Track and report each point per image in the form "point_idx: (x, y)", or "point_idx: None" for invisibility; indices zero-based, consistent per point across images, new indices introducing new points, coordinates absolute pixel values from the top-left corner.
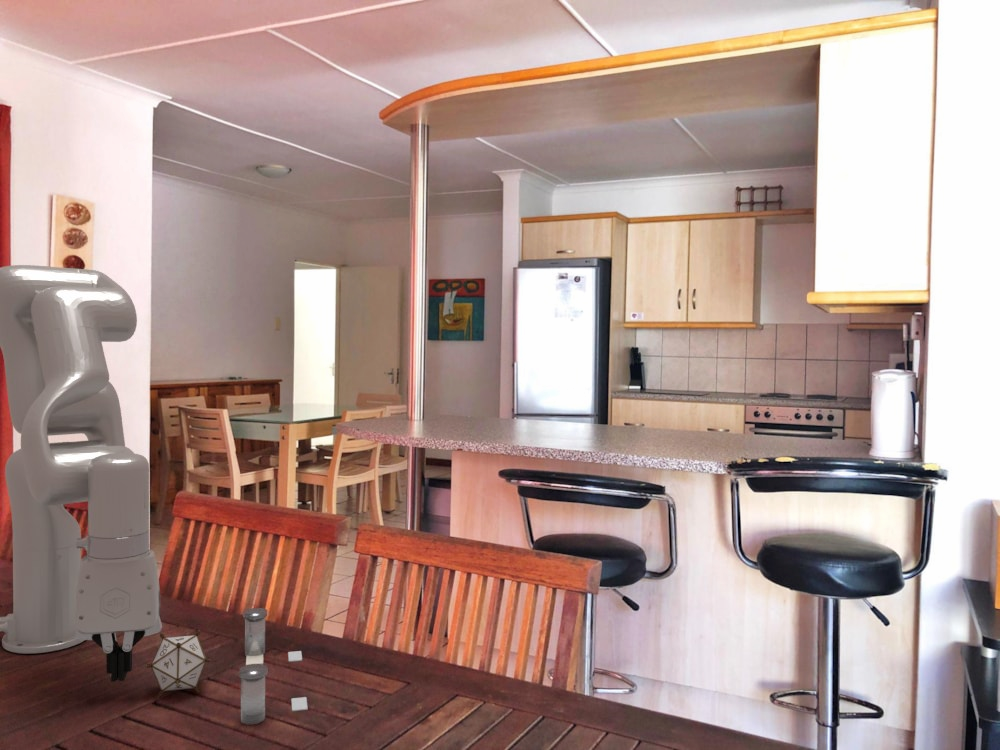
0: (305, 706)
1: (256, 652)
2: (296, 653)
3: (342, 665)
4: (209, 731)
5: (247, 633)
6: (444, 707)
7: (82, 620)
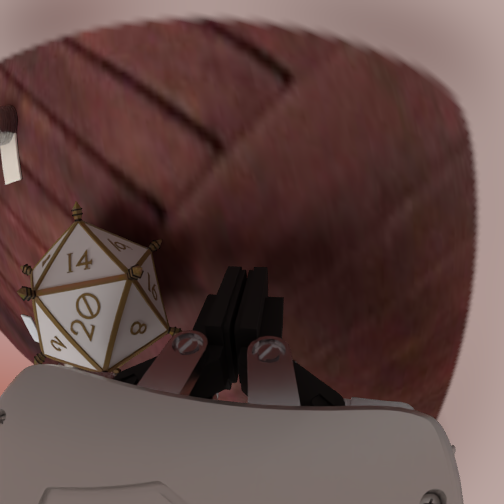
0: None
1: None
2: (34, 335)
3: None
4: (47, 73)
5: None
6: None
7: (425, 484)
